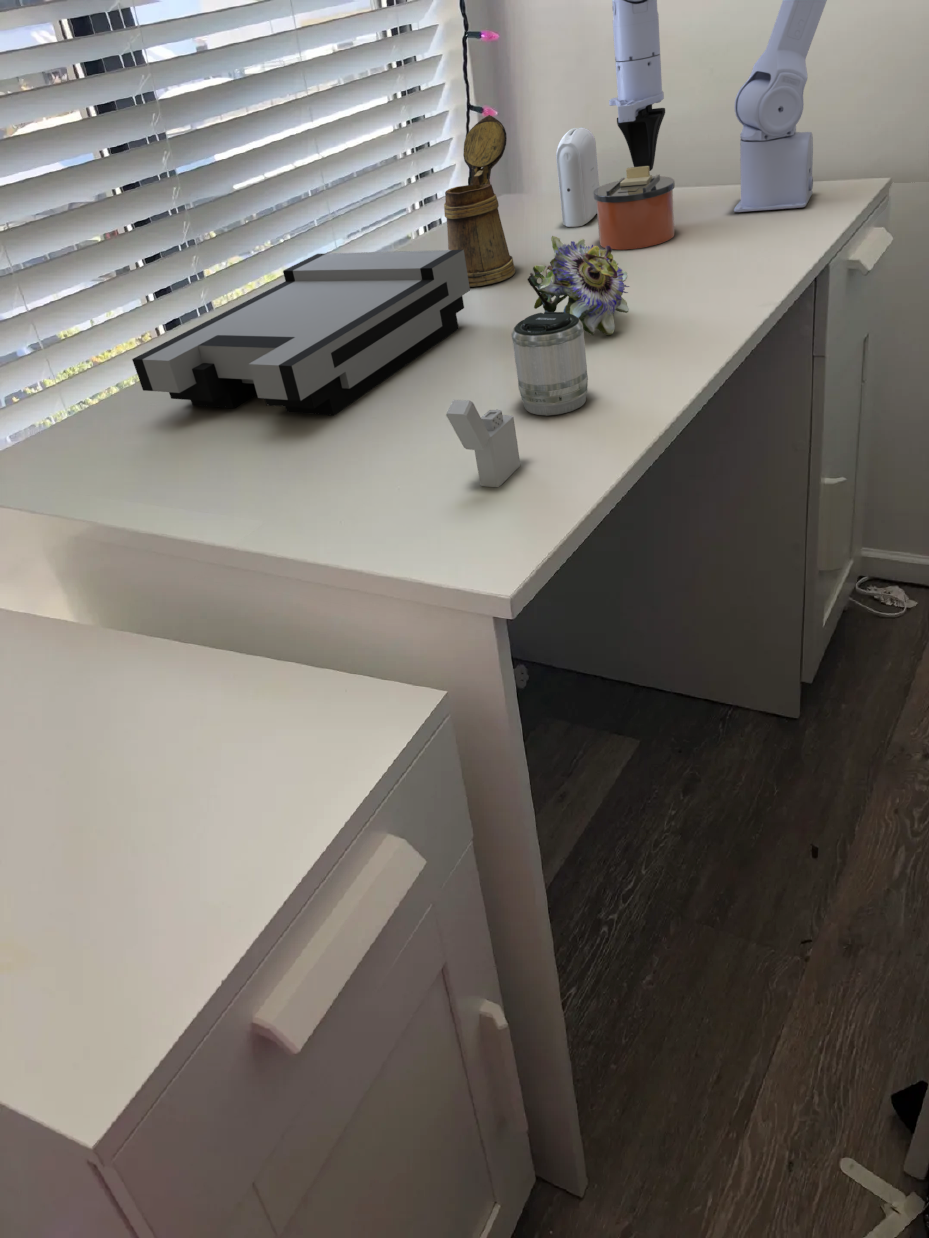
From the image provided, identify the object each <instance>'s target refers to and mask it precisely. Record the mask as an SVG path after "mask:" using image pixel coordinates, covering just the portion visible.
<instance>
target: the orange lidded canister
mask: <svg viewBox="0 0 929 1238" xmlns="http://www.w3.org/2000/svg"><path fill="white" fill-rule="evenodd" d="M625 178H626V177H621V178H620V179H619V180H615V181H613V182H609V183H605V184H603V185H599V187H598V188H597V189H595V190H594V192H593V196H594V199H595V200H596V204H597V213H596V214H597V215H596V216H597V226H598V239H599V240H598V241H599V246H600V247H601V248H604V249H605V246H610V247H611V249H612V250H616V251H617V250H619V251H623V250H625V251H626V250H637V249H643V248H649V247H653V246H657V245H660V244H663V243H666V242H667V241H670V240H672V239H673V238H674V236H675V212H674V191H673V190H674V189H675V187H676V184H675V183H676V181H675V179H674V178H672V177H670V176H661V174H656V175H652V180H651V181H650V182H649V183H648V184H644V185H633V186H620V182H622V181H623V180H624V179H625Z"/></svg>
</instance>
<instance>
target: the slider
mask: <svg viewBox="0 0 929 1238" xmlns="http://www.w3.org/2000/svg"><path fill="white" fill-rule="evenodd" d="M625 172H626V177H624V178H625V179H624V180H623V181H622V182H620V186H633V185H644V184H648V183H649V182H650V181H651V180H652V176H653V175H652V174H651V173H650V172H651V171H650V170H649V166H642V167H634V166H632V167H627V168H625Z"/></svg>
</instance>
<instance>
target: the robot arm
mask: <svg viewBox="0 0 929 1238" xmlns="http://www.w3.org/2000/svg"><path fill="white" fill-rule="evenodd" d="M781 1H782V2H781V4H780V7H779V9H778V13H777V16H776V19H775V22H774V25H773V27H772V31H771V33H770V36H769V39H768V42H767V45H766V48H765V50H764V51H763V53H762V54H761V55H760V56H759V57H758V59H757V60H756V62H755V63H754V64H753V66H752V69H751V72H750V75H749V77H748V79H747V80H746V81H745V82H744V83H743V85H742V86H740V88H739V89H738V92H737V93H736V96H735V98H734V114H735V117H736V119H737V121H738V122H739V123H740V124H741V125H742V129H741V132H740V135H739V137H740V141H739V142H740V143H739V146H740V147H739V148H740V149H739V151H740V152H739V153H740V200H739V201H738V203H737V204H736V206H735V207H734V208H733V212H734V213H742V212H743V213H744V212H746V213H747V212H759V211H771V210H773V211H775V210H784V209H785V210H787V209H797V208H799V209H800V208H805V207H806V206H807V204H808V202H809V201H810V199H811V197H812V194H813V187H814V177H813V164H814V163H813V161H814V159H813V158H814V157H813V156H814V139H813V138H814V136H813V133H812V131H797V124H798V123H799V121H800V119H801V118H802V115H803V111H804V104H805V103H804V92H805V87H806V84H807V81H808V70H807V63H806V60H807V56H808V53H809V51H810V48H811V45H812V42H813V41H814V40H813V39H814V37H815V34H816V32H817V29H818V26H819V23H820V20H821V17H822V15H823V12H824V9H825V6H826V4H827V1H828V0H781ZM611 4H612V5H611V6H612V7H611V8H612V18H613V19H612V34H613V48H614V60H615V76H616V90H617V97H612V98H610V99H609V100H608V101H609V102H608V103H609V106H610V107H614V106H616V107H617V118H616V125H617V127H618V129H619V130H620V131H621V133H622V135H623V137H624V139H625V142H626V144H627V147H628V151H629V154H630V158H631V162H632V165H633V167H642V166H649V170H650V172H651V171H652V170H653V169H654V166H655V158H656V151H657V142H658V137H659V133H660V129H661V126H662V122H663V120H664V117H665V115H666V108H665V107H658V108H657V107H656V108H653V105H655V104H658V103H661V102H662V101H663V100H664V99H665V92H664V91H663V83H662V81H663V80H662V61H661V39H660V20H659V18H660V17H659V12H658V0H611Z"/></svg>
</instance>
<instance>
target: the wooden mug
mask: <svg viewBox="0 0 929 1238" xmlns="http://www.w3.org/2000/svg"><path fill="white" fill-rule="evenodd" d="M507 140H508V139H507V131H506V128H505V126H504V125H503V123H502V122H501V121H500V120H499V119H497V118H496V117H494V116H492V115H491V114H488V115H486V116H485V117H482V119H480V120H479V121H478V122H476V123H475V124H474V125H473V126H472V128H470V129H469V131H468V132H467V134H466V136H465V139H464V142H463V161H464V163H465V165H467V167H468V169H470V171H471V176H470V177H471V178H470V183H469V184H468V185H467V184H466V185H460V186H454V187H451V188H448V189H447V190H445V192H444V196H445V199H444V200H445V202H444V203H443V209H444V211H443V212H444V213H443V214H444V217H445V219H446V228H447V231H446V232H447V247H448V249H447V250H464V255H465V261H466V268H467V274H468V281H469V287H470V288H476V287H482V286H487V285H493V284H496V283H500V282H503V281H505V280H508V279H509V278H511V277H512V276H513V275H515V274H516V268H515V263H514V259H513V256H512V255H511V254H510V251H509V247H508V244H507V240H506V235H505V231H504V229H503V224H502V220H501V216H500V211H499V206H500V205H499V200H498V197H497V194H496V193H495V192H494V188H493V185H492V183H491V175H492V174H491V173H492V169H493V168H494V167H495V166H496V165H497V164H498V163H499V161H500V160H501V159H502V157H503V155H504V153H505V150H506V148H507V147H506V146H507Z"/></svg>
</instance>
